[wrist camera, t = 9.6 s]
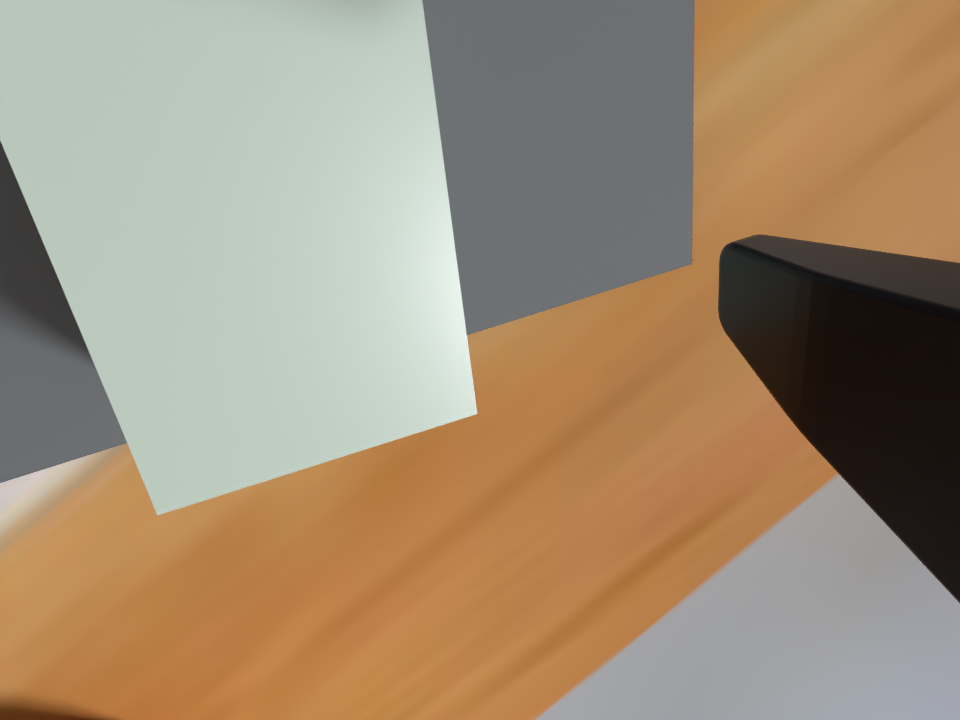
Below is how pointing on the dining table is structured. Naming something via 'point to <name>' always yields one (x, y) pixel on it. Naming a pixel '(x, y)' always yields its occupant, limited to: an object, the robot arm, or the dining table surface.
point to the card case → (243, 224)
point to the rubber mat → (471, 191)
